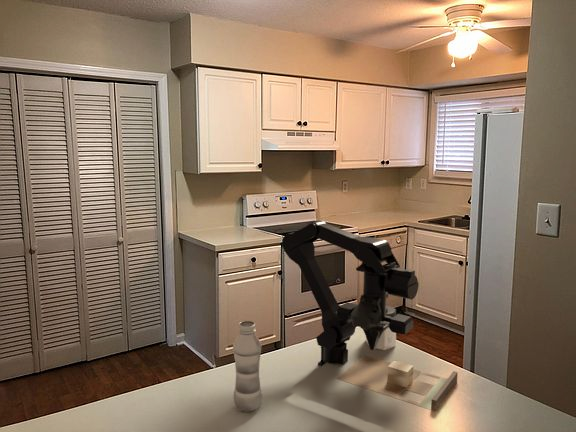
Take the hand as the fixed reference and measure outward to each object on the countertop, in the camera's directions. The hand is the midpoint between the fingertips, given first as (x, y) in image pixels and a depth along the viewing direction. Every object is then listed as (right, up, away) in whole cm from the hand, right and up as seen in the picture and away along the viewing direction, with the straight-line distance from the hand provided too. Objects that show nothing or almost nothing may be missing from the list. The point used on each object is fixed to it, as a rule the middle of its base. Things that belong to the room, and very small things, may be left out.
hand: (372, 349), depth 120 cm
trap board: (+5, -8, -3) cm, 10 cm away
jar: (+6, -5, +19) cm, 21 cm away
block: (+6, -7, -3) cm, 10 cm away
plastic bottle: (-31, -10, -12) cm, 34 cm away
